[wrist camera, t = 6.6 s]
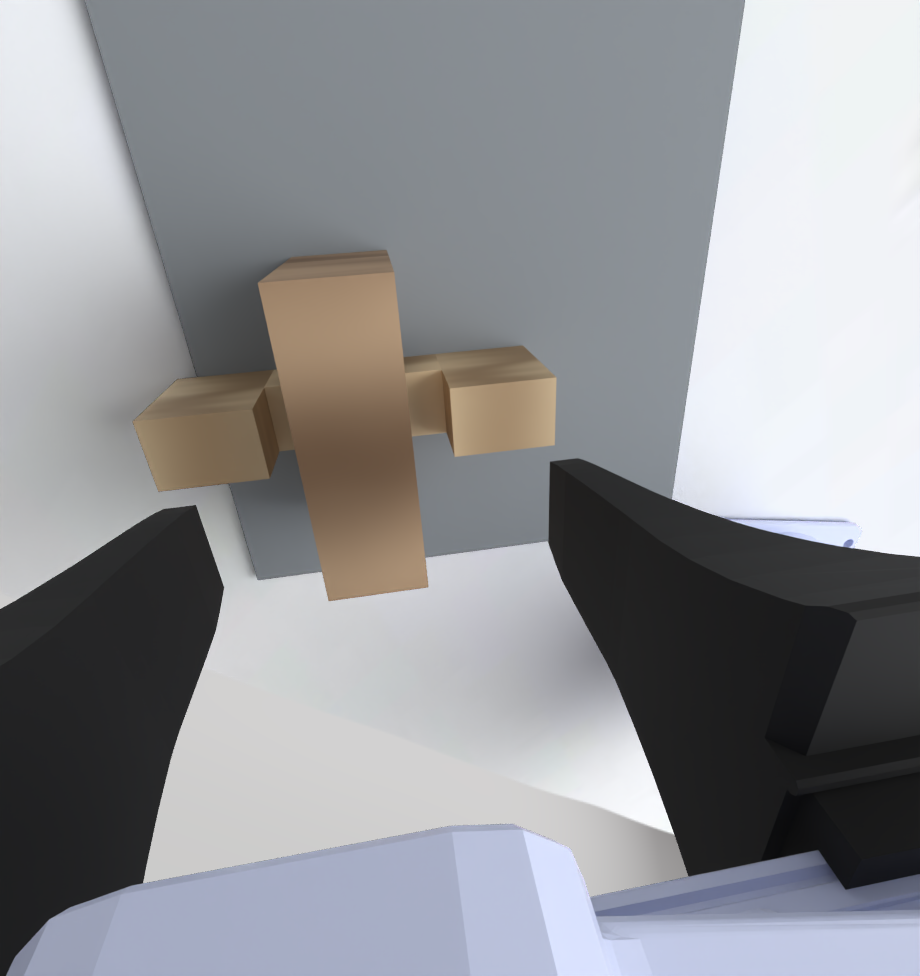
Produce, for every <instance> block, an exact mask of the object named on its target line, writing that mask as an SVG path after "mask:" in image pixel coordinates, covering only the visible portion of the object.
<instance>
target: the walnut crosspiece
mask: <svg viewBox="0 0 920 976" xmlns="http://www.w3.org/2000/svg"><path fill="white" fill-rule="evenodd" d="M258 287H259V291H260V296H261V300H262V305H263V309H264V314H265V318H266V323H267V327H268V332H269V336H270V341H271V345H272V350H273V354H274V359H275V363H276V367H277V372H278V376H279V381H280V385H281V390H282V394H283V399H284V403H285V408H286V412H287V417H288V421H289V426H290V430H291V435H292V439H293V444H294V448H295V453H296V457H297V461H298V466H299V470H300V475H301V479H302V484H303V488H304V493H305V497H306V502H307V506H308V511H309V515H310V520H311V524H312V529H313V533H314V538H315V542H316V547H317V551H318V555H319V560H320V564H321V569H322V573H323V578H324V582H325V587H326V591H327V596H328V600H329V601H333V600H341V599H348V598H355V597H362V596H369V595H376V594H383V593H391V592H398V591H405V590H412V589H419V588H426V587H428V579H427V570H426V561H425V551H424V542H423V533H422V524H421V515H420V505H419V496H418V487H417V478H416V468H415V459H414V450H413V441H412V432H411V422H410V413H409V404H408V395H407V386H406V376H405V367H404V358H403V349H402V339H401V330H400V321H399V312H398V303H397V293H396V284H395V275H394V270H393V267H392V264H391V261H390V258H389V255H388V253H387V250H378V251H365V252H352V253H339V254H326V255H312V256H299V257H291V258H290V259H288V260H287V261H286V262H284V263H283V264H282V265H281V266H279V267H278V268H277V269H275V270H274V271H273V272H271V273H270V274H269V275H267V276H266V277H265V278H263V279H262V280H261V281H259V282H258Z"/></svg>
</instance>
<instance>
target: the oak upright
mask: <svg viewBox="0 0 920 976" xmlns="http://www.w3.org/2000/svg"><path fill="white" fill-rule="evenodd" d="M403 358H404V367H405V376H406V386H407V395H408V404H409V413H410V422H411V432H412V436H421V435H430V434H439V433H447V435H448V438H449V442H450V445H451V448H452V451H453V454H454V457H458V456H467V455H475V454H484V453H492V452H501V451H510V450H518V449H527V448H535V447H544V446H552V445H555V415H556V378H557V377H556V376H554V375H553V374H552V373H551V372H550V371H549V370H548V369H547V368H546V367H545V366H544V365H543V364H542V363H541V362H540V361H539V360H538V359H537V358H536V357H535V356H534V355H533V354H531V353H530V352H529V351H528V350H527V349H526V348H525V347H524V346H513V347H502V348H492V349H482V350H471V351H461V352H451V353H441V354H430V355H420V356H410V357H403ZM133 425H134V427H135V430H136V433H137V435H138V438H139V441H140V443H141V446H142V449H143V451H144V454H145V457H146V460H147V462H148V465H149V468H150V470H151V473H152V476H153V478H154V481H155V484H156V486H157V489H158V492H160V491H168V490H177V489H185V488H194V487H202V486H211V485H219V484H228V483H237V482H245V481H254V480H262V479H270V477H271V474H272V471H273V468H274V466H275V463H276V460H277V457H278V454H279V451H287V450H295V448H294V444H293V439H292V435H291V430H290V426H289V421H288V417H287V412H286V408H285V403H284V399H283V394H282V390H281V385H280V381H279V376H278V372H277V370H266V371H256V372H246V373H236V374H225V375H215V376H205V377H194V378H184V379H177V380H176V381H175V382H174V383H173V384H172V385H171V386H170V387H169V388H167V389H166V390H165V391H164V392H163V393H162V394H161V395H160V396H159V397H158V398H157V399H156V400H155V401H154V402H153V403H152V404H151V405H149V406H148V407H147V408H146V409H145V410H144V411H143V412H142V413H141V414H140V415H139V416H138V417H137V418H136V419H135V420H134V421H133Z"/></svg>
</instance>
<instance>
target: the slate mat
mask: <svg viewBox="0 0 920 976" xmlns="http://www.w3.org/2000/svg"><path fill="white" fill-rule="evenodd" d="M85 3H86V7H87V10H88V13H89V17H90V20H91V23H92V27H93V30H94V33H95V37H96V40H97V43H98V47H99V50H100V53H101V57H102V60H103V64H104V67H105V70H106V74H107V77H108V80H109V84H110V87H111V90H112V94H113V97H114V100H115V104H116V107H117V110H118V114H119V117H120V120H121V124H122V127H123V130H124V134H125V137H126V141H127V144H128V147H129V151H130V154H131V157H132V161H133V164H134V167H135V171H136V174H137V177H138V181H139V184H140V187H141V191H142V194H143V197H144V201H145V204H146V207H147V211H148V214H149V218H150V221H151V224H152V228H153V231H154V234H155V238H156V241H157V244H158V248H159V251H160V254H161V258H162V261H163V264H164V268H165V271H166V274H167V278H168V281H169V284H170V288H171V291H172V295H173V298H174V301H175V305H176V308H177V311H178V315H179V318H180V321H181V325H182V328H183V331H184V335H185V338H186V341H187V345H188V348H189V351H190V355H191V358H192V362H193V365H194V368H195V372H196V375H197V377H205V376H215V375H225V374H236V373H246V372H256V371H266V370H277V367H276V363H275V359H274V354H273V350H272V345H271V341H270V336H269V332H268V327H267V323H266V318H265V314H264V309H263V305H262V300H261V296H260V291H259V287H258V282H259V281H261V280H262V279H263V278H265V277H266V276H267V275H269V274H270V273H271V272H273V271H274V270H275V269H277V268H278V267H279V266H281V265H282V264H283V263H284V262H286V261H287V260H288V259H290V258H291V257H299V256H312V255H326V254H339V253H352V252H365V251H378V250H387V253H388V255H389V258H390V261H391V264H392V267H393V270H394V275H395V284H396V293H397V303H398V312H399V321H400V330H401V339H402V349H403V357H410V356H420V355H430V354H441V353H451V352H461V351H471V350H482V349H492V348H502V347H513V346H524V347H525V348H526V349H527V350H528V351H529V352H530V353H531V354H533V355H534V356H535V357H536V358H537V359H538V360H539V361H540V362H541V363H542V364H543V365H544V366H545V367H546V368H547V369H548V370H549V371H550V372H551V373H552V374H553V375H554V376H556V377H557V378H556V415H555V445H552V446H544V447H535V448H527V449H518V450H510V451H501V452H492V453H484V454H475V455H467V456H458V457H454V454H453V451H452V448H451V445H450V442H449V438H448V435H447V433H439V434H430V435H421V436H412V441H413V450H414V459H415V468H416V478H417V487H418V496H419V505H420V515H421V524H422V533H423V542H424V551H425V558H426V557H433V556H441V555H448V554H456V553H463V552H470V551H478V550H485V549H492V548H500V547H507V546H515V545H522V544H529V543H537V542H544V541H548V536H549V478H550V461H558V460H567V459H575V458H579V459H582V460H585V461H588V462H590V463H593V464H595V465H597V466H599V467H602V468H604V469H606V470H608V471H610V472H612V473H614V474H616V475H619V476H621V477H623V478H625V479H627V480H629V481H631V482H633V483H636V484H638V485H640V486H642V487H644V488H646V489H649V490H651V491H653V492H655V493H658V494H660V495H662V496H665V497H667V498H670V499H672V493H673V487H674V480H675V473H676V466H677V459H678V453H679V446H680V439H681V432H682V426H683V419H684V412H685V405H686V398H687V392H688V385H689V378H690V371H691V364H692V358H693V351H694V344H695V337H696V331H697V324H698V317H699V310H700V303H701V297H702V290H703V283H704V276H705V269H706V263H707V256H708V249H709V242H710V236H711V229H712V222H713V215H714V208H715V202H716V195H717V188H718V181H719V174H720V168H721V161H722V154H723V147H724V141H725V134H726V127H727V120H728V113H729V107H730V100H731V93H732V86H733V79H734V73H735V66H736V59H737V52H738V45H739V39H740V32H741V25H742V18H743V12H744V5H745V0H85ZM229 485H230V489H231V492H232V495H233V499H234V502H235V505H236V509H237V512H238V516H239V519H240V522H241V526H242V529H243V532H244V536H245V539H246V542H247V546H248V549H249V552H250V556H251V559H252V562H253V566H254V569H255V572H256V576H257V579H258V580H264V579H271V578H278V577H286V576H293V575H300V574H308V573H315V572H322V569H321V564H320V560H319V555H318V551H317V547H316V542H315V538H314V533H313V529H312V524H311V520H310V515H309V511H308V506H307V502H306V497H305V493H304V488H303V484H302V479H301V475H300V470H299V466H298V461H297V457H296V453H295V450H287V451H279V454H278V457H277V460H276V463H275V466H274V468H273V471H272V474H271V477H270V479H262V480H254V481H245V482H237V483H229Z"/></svg>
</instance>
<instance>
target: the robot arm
mask: <svg viewBox="0 0 920 976" xmlns="http://www.w3.org/2000/svg"><path fill="white" fill-rule="evenodd" d="M861 533H862V528H861V527H860V526H858V525H857V524H855V523H852V522H817V521H776V520H735V519H724V518H721V517H718V516H715V515H712V514H709V513H706V512H703V511H700V510H698V509H695V508H692V507H690V506H687V505H685V504H682V503H680V502H677V501H675V500H672V499H670V498H667V497H665V496H662V495H660V494H658V493H655V492H653V491H651V490H649V489H646V488H644V487H642V486H640V485H638V484H636V483H633V482H631V481H629V480H627V479H625V478H623V477H621V476H619V475H616V474H614V473H612V472H610V471H608V470H606V469H604V468H602V467H599V466H597V465H595V464H593V463H590V462H588V461H585V460H582V459H579V458H575V459H567V460H558V461H550V478H549V536H548V543H549V546H550V549H551V551H552V554H553V557H554V560H555V563H556V565H557V568H558V571H559V573H560V576H561V579H562V581H563V583H564V585H565V587H566V589H567V590H568V592H569V594H570V596H571V598H572V600H573V602H574V604H575V605H576V607H577V609H578V611H579V613H580V615H581V616H582V618H583V620H584V622H585V624H586V626H587V627H588V629H589V631H590V633H591V635H592V637H593V638H594V640H595V642H596V644H597V646H598V648H599V649H600V651H601V653H602V655H603V657H604V658H605V660H606V662H607V664H608V666H609V668H610V670H611V672H612V674H613V677H614V679H615V681H616V683H617V685H618V688H619V690H620V693H621V695H622V697H623V700H624V702H625V705H626V707H627V710H628V712H629V714H630V717H631V719H632V722H633V724H634V727H635V729H636V732H637V735H638V737H639V740H640V742H641V745H642V747H643V750H644V753H645V755H646V758H647V760H648V763H649V766H650V768H651V771H652V773H653V776H654V779H655V782H656V784H657V787H658V790H659V793H660V796H661V798H662V801H663V804H664V807H665V809H666V812H667V815H668V818H669V821H670V823H671V826H672V829H673V832H674V834H675V837H676V840H677V843H678V846H679V849H680V852H681V855H682V858H683V861H684V864H685V867H686V870H687V873H688V876H689V877H684V878H680V879H675V880H670V881H665V882H660V883H656V884H651V885H646V886H641V887H636V888H631V889H627V890H621V891H616V892H612V893H607V894H602V895H597V896H593V897H590V896H589V893H588V890H587V886H586V883H585V880H584V878H583V876H582V873H581V871H580V869H579V867H578V865H577V862H576V860H575V858H574V855H573V853H572V851H571V849H570V848H568V847H566V846H565V845H563V844H561V843H559V842H556V841H555V840H552V839H549V838H547V837H545V836H542V835H540V834H537V833H534V832H532V831H530V830H527V829H524V828H522V827H519V826H517V825H514V824H491V825H458V826H447V827H441V828H436V829H431V830H426V831H420V832H415V833H409V834H404V835H399V836H393V837H388V838H383V839H377V840H372V841H367V842H362V843H356V844H351V845H345V846H340V847H335V848H330V849H324V850H319V851H313V852H308V853H303V854H297V855H292V856H287V857H281V858H276V859H271V860H265V861H260V862H255V863H249V864H244V865H239V866H234V867H228V868H223V869H217V870H213V871H207V872H201V873H196V874H191V875H185V876H180V877H175V878H169V879H164V880H158V881H153V882H149V883H143V880H144V875H145V870H146V864H147V860H148V855H149V850H150V846H151V841H152V837H153V832H154V828H155V822H156V818H157V814H158V809H159V805H160V800H161V797H162V793H163V788H164V784H165V780H166V776H167V772H168V768H169V764H170V760H171V756H172V753H173V749H174V746H175V743H176V740H177V737H178V734H179V730H180V728H181V725H182V722H183V720H184V717H185V714H186V712H187V709H188V706H189V703H190V700H191V698H192V695H193V692H194V689H195V687H196V684H197V681H198V679H199V676H200V673H201V671H202V668H203V665H204V662H205V660H206V657H207V654H208V651H209V648H210V646H211V643H212V640H213V637H214V634H215V631H216V627H217V622H218V617H219V613H220V607H221V602H222V596H223V590H224V586H223V583H222V580H221V577H220V574H219V571H218V569H217V566H216V563H215V560H214V557H213V554H212V551H211V548H210V545H209V542H208V539H207V537H206V534H205V531H204V528H203V525H202V522H201V519H200V516H199V513H198V510H197V508H196V505H194V506H186V507H178V508H170V509H163V510H161V511H159V512H157V513H155V514H153V515H151V516H149V517H148V518H146V519H144V520H143V521H141V522H139V523H138V524H136V525H135V526H133V527H131V528H130V529H128V530H127V531H125V532H124V533H122V534H121V535H119V536H118V537H116V538H115V539H113V540H112V541H110V542H109V543H107V544H105V545H104V546H102V547H101V548H99V549H98V550H96V551H95V552H93V553H92V554H90V555H89V556H87V557H86V558H84V559H83V560H81V561H80V562H78V563H76V564H75V565H73V566H72V567H70V568H68V569H67V570H65V571H63V572H62V573H60V574H59V575H57V576H55V577H54V578H52V579H50V580H49V581H47V582H46V583H44V584H42V585H41V586H39V587H37V588H36V589H34V590H33V591H31V592H29V593H28V594H26V595H24V596H23V597H21V598H19V599H17V600H16V601H14V602H12V603H11V604H9V605H7V606H5V607H3V608H2V609H0V976H920V557H915V556H905V555H895V554H887V553H880V552H874V551H867V550H861V549H854V547H855V545H856V543H857V541H858V540H859V538H860V536H861Z"/></svg>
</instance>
